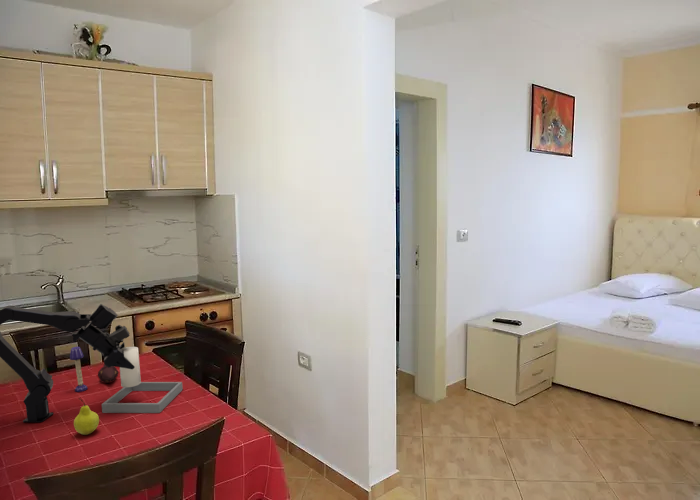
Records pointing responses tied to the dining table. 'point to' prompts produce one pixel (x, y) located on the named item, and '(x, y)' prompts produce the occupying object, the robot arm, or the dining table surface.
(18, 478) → the dining table surface
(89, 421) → the fruit
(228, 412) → the dining table surface
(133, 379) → the white pillar candle
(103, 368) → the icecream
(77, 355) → the toy lamp
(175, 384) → the frame
